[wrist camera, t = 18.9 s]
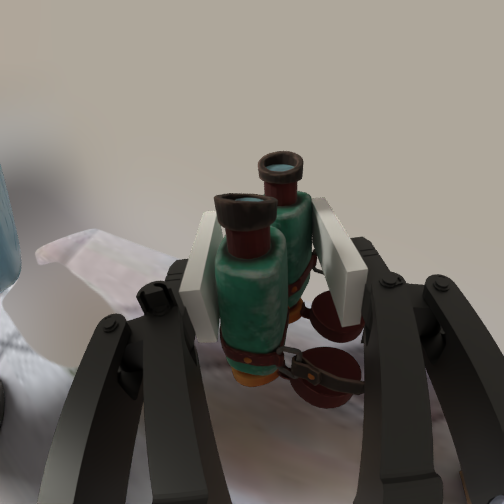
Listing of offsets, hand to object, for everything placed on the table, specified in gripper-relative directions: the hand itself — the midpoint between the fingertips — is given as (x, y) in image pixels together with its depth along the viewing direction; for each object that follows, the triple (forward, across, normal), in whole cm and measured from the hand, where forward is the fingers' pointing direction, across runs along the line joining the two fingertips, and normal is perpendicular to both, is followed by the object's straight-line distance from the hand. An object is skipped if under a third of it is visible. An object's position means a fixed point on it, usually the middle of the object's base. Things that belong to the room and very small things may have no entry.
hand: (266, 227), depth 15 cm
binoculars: (-3, +2, -7) cm, 8 cm away
